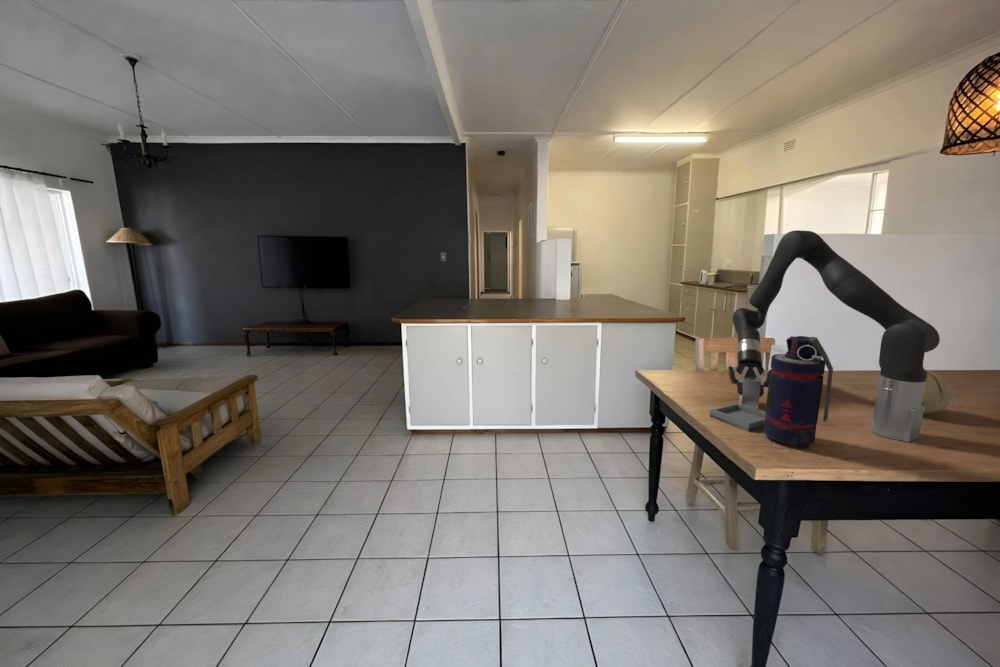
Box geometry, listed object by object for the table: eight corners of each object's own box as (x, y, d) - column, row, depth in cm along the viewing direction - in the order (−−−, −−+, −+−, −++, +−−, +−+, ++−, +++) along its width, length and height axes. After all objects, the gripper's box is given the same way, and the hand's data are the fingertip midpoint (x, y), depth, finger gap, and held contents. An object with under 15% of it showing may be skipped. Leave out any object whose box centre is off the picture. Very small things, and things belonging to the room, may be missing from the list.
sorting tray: (775, 423, 123) (776, 416, 122) (748, 431, 117) (749, 423, 117) (735, 409, 134) (736, 403, 134) (709, 416, 129) (710, 409, 129)
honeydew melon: (942, 424, 120) (951, 378, 117) (878, 410, 132) (885, 367, 129) (952, 414, 128) (961, 370, 125) (890, 401, 140) (897, 361, 137)
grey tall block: (755, 404, 139) (758, 377, 137) (757, 409, 135) (760, 381, 133) (739, 402, 141) (742, 375, 139) (740, 407, 137) (743, 379, 135)
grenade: (758, 439, 112) (769, 337, 106) (767, 427, 120) (779, 331, 115) (819, 456, 102) (835, 344, 97) (825, 441, 110) (840, 337, 105)
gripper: (728, 346, 144) (728, 387, 135) (774, 350, 138) (777, 392, 129) (725, 357, 150) (725, 397, 141) (770, 361, 144) (772, 402, 135)
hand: (750, 394), depth 135 cm, fingers closed on grey tall block, 5 cm apart
